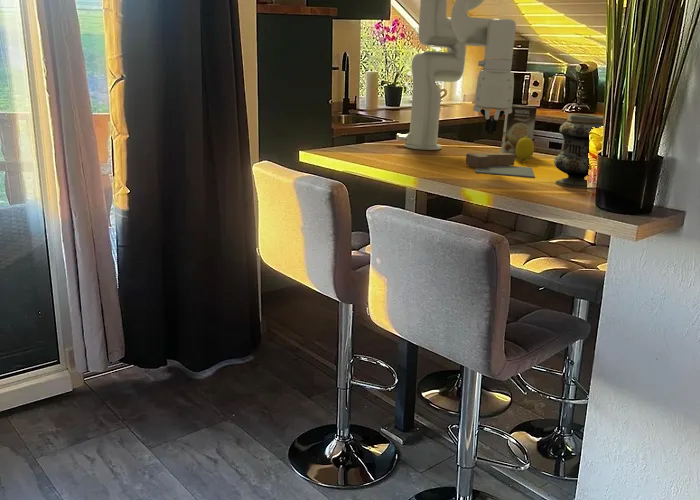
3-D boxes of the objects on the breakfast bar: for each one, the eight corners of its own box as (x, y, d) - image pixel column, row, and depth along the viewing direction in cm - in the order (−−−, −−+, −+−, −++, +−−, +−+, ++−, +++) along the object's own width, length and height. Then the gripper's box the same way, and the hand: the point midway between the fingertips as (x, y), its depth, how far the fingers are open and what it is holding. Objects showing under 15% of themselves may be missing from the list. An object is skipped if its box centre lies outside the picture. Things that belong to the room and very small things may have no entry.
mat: (474, 172, 188) (475, 171, 188) (476, 164, 203) (476, 163, 203) (534, 177, 185) (534, 176, 185) (531, 168, 200) (531, 167, 200)
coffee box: (502, 155, 225) (508, 106, 220) (500, 153, 231) (505, 104, 226) (530, 157, 224) (537, 107, 220) (527, 154, 230) (533, 106, 226)
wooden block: (466, 153, 198) (508, 152, 204) (465, 164, 199) (507, 163, 205) (478, 156, 192) (522, 156, 198) (477, 168, 193) (521, 167, 199)
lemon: (533, 162, 214) (537, 136, 212) (530, 164, 209) (533, 138, 207) (516, 160, 216) (519, 134, 214) (512, 162, 212) (515, 136, 209)
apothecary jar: (609, 189, 174) (621, 118, 169) (568, 189, 170) (579, 116, 165) (581, 180, 185) (591, 113, 180) (542, 180, 182) (551, 112, 177)
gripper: (469, 64, 185) (462, 133, 190) (525, 68, 182) (517, 137, 187) (470, 64, 192) (463, 130, 197) (524, 67, 189) (516, 134, 194)
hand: (490, 133), depth 192 cm, fingers closed
